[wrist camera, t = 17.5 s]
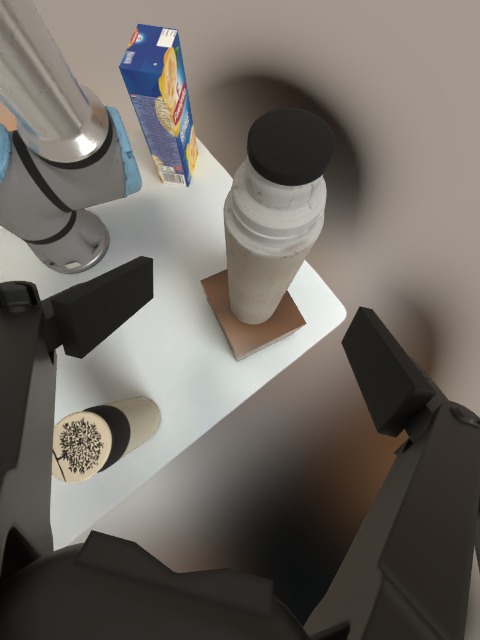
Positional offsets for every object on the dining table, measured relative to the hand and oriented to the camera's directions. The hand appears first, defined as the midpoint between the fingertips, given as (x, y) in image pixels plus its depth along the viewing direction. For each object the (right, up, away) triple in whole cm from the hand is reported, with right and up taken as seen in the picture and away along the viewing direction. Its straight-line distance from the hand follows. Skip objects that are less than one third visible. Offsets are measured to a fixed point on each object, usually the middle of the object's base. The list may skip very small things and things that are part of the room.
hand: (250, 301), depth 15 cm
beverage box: (-16, +38, +44) cm, 60 cm away
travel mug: (-20, -20, +29) cm, 41 cm away
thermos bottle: (+2, +2, +25) cm, 25 cm away
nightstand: (+1, -1, +35) cm, 35 cm away
